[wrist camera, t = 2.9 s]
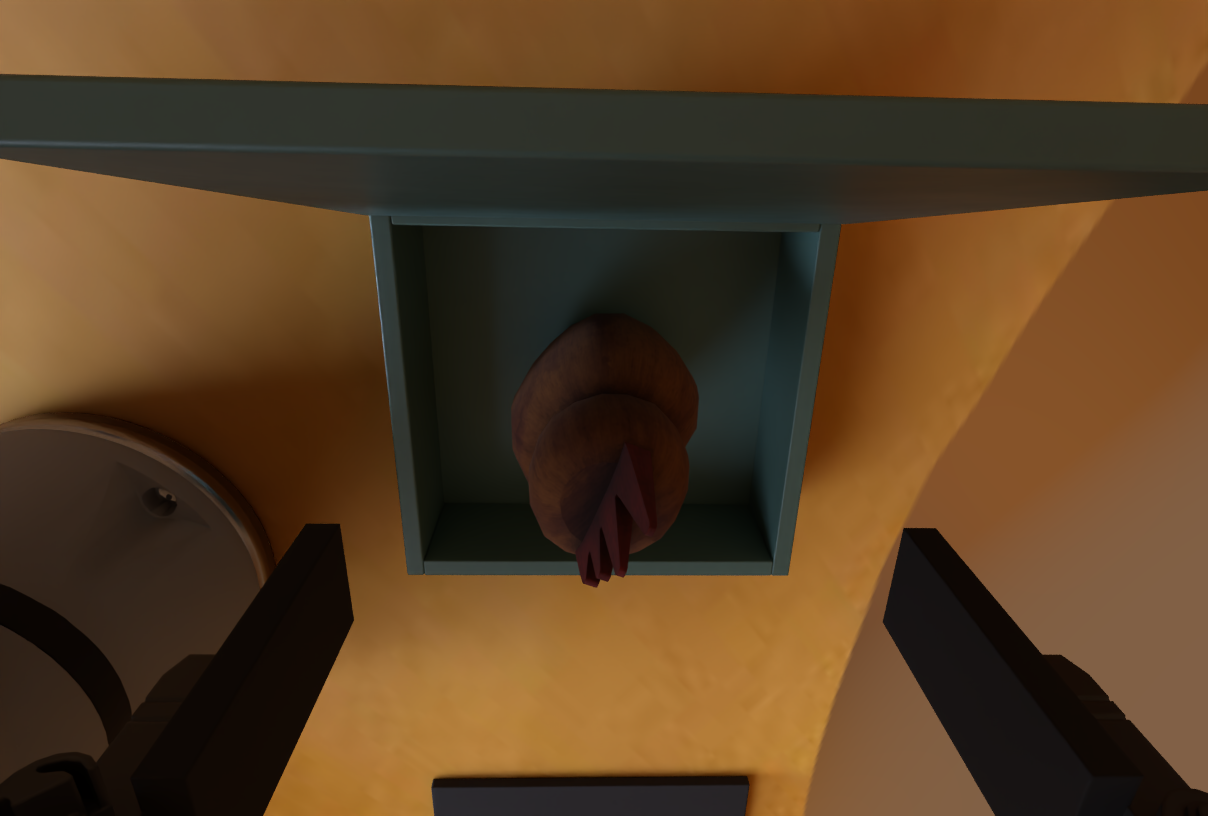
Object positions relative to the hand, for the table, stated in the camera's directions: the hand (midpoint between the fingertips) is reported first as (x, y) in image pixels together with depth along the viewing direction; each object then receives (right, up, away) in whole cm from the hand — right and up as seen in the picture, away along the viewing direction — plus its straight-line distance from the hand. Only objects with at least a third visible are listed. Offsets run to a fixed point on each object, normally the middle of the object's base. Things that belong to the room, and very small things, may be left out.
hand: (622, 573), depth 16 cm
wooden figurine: (-1, +6, +13) cm, 14 cm away
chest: (-1, +6, +14) cm, 15 cm away
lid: (0, +8, -2) cm, 8 cm away
